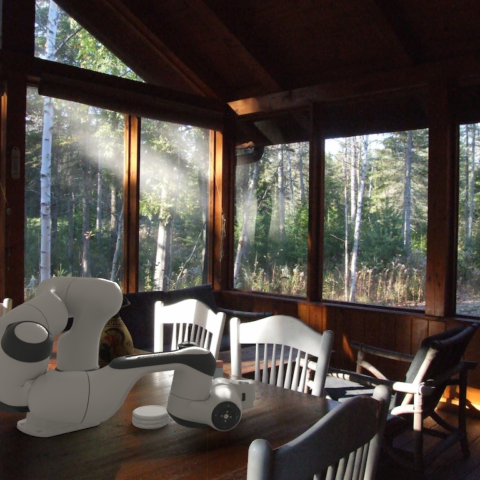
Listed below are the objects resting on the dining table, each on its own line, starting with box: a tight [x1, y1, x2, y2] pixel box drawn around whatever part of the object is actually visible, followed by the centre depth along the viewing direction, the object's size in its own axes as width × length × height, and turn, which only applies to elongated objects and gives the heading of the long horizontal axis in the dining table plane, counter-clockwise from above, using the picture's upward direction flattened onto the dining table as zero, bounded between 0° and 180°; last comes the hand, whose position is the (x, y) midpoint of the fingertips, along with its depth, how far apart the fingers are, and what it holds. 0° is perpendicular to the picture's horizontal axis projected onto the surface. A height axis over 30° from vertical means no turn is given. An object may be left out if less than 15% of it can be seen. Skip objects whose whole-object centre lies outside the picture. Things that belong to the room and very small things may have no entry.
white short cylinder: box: [131, 404, 171, 430], centre depth 144 cm, size 10×10×4 cm
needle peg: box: [213, 359, 224, 379], centre depth 151 cm, size 3×3×14 cm
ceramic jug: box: [98, 295, 134, 369], centre depth 197 cm, size 17×15×30 cm
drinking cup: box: [177, 325, 201, 349], centre depth 182 cm, size 8×8×20 cm
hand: (217, 381), depth 152 cm, fingers closed on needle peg, 3 cm apart
